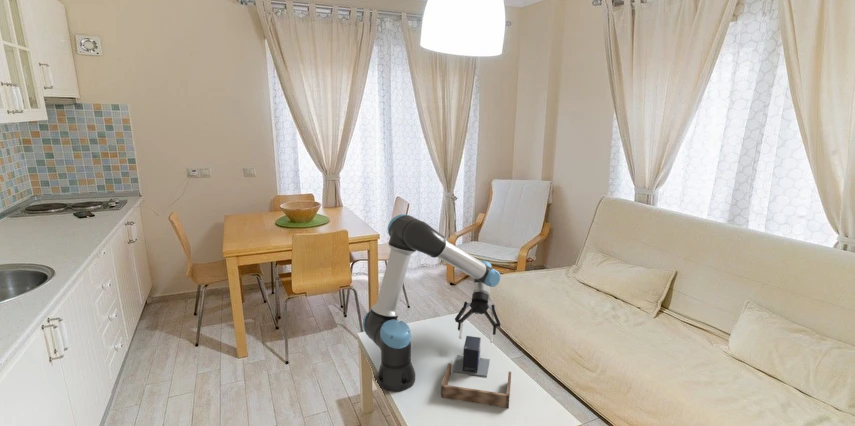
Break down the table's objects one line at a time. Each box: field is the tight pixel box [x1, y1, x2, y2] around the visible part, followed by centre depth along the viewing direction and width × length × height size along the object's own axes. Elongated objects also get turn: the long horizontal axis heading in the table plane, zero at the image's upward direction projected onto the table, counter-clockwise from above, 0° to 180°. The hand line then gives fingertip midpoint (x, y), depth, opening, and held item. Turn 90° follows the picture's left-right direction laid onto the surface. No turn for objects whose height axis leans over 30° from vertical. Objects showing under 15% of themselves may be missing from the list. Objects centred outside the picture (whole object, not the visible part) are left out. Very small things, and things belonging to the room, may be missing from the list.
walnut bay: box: [440, 362, 512, 409], centre depth 166 cm, size 25×15×5 cm, turn 77°
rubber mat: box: [452, 354, 491, 378], centre depth 181 cm, size 14×12×1 cm
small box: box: [462, 335, 482, 373], centre depth 180 cm, size 11×6×10 cm, turn 168°
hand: (475, 340), depth 188 cm, fingers open, 13 cm apart
